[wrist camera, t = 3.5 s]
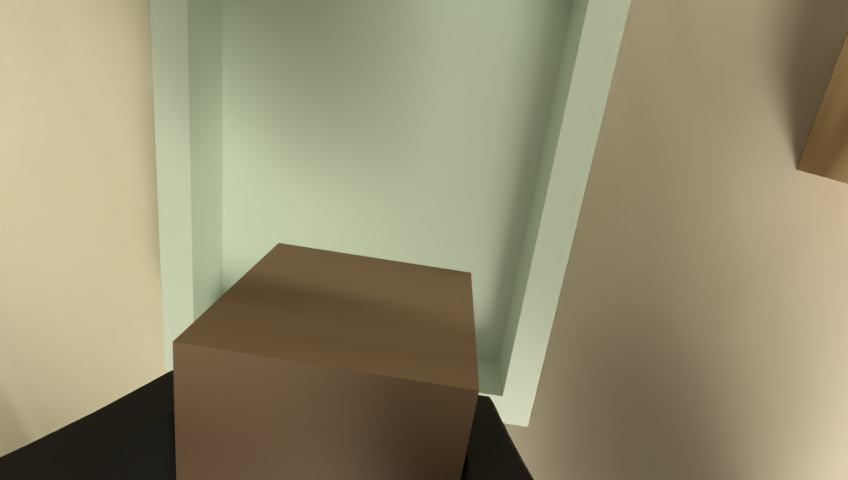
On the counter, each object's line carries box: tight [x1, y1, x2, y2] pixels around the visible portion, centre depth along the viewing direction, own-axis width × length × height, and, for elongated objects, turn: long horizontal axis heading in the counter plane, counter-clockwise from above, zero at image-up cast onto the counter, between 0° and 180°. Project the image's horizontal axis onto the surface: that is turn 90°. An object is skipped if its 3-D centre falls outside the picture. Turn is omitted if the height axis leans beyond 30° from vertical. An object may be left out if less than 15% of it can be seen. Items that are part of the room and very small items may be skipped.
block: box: [173, 243, 479, 480], centre depth 9 cm, size 4×4×4 cm
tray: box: [149, 0, 631, 427], centre depth 15 cm, size 14×12×3 cm
